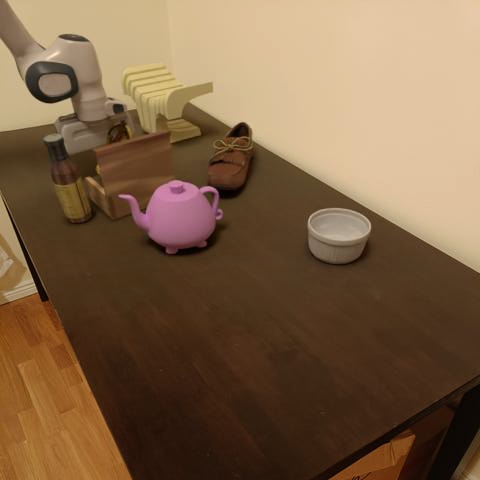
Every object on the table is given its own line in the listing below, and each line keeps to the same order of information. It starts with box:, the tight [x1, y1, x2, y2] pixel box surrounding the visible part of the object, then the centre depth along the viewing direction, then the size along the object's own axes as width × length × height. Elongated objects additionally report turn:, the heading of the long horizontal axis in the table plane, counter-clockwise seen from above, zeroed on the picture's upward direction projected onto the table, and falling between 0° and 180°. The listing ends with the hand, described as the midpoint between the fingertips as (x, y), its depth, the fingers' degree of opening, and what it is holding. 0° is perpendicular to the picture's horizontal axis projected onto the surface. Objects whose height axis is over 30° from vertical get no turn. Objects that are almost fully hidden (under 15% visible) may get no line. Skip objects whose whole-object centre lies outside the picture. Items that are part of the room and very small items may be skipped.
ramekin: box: [306, 207, 372, 265], centre depth 92 cm, size 13×13×7 cm
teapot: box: [118, 179, 224, 255], centre depth 93 cm, size 22×16×14 cm
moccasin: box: [205, 121, 254, 191], centre depth 117 cm, size 31×12×12 cm, turn 158°
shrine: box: [95, 119, 133, 177], centre depth 115 cm, size 12×8×15 cm
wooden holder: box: [84, 129, 176, 221], centre depth 106 cm, size 14×19×17 cm
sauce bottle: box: [43, 133, 93, 224], centre depth 98 cm, size 6×6×20 cm
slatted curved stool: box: [120, 61, 214, 144], centre depth 138 cm, size 30×16×18 cm, turn 37°
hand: (104, 161), depth 120 cm, fingers closed, pressing on shrine
